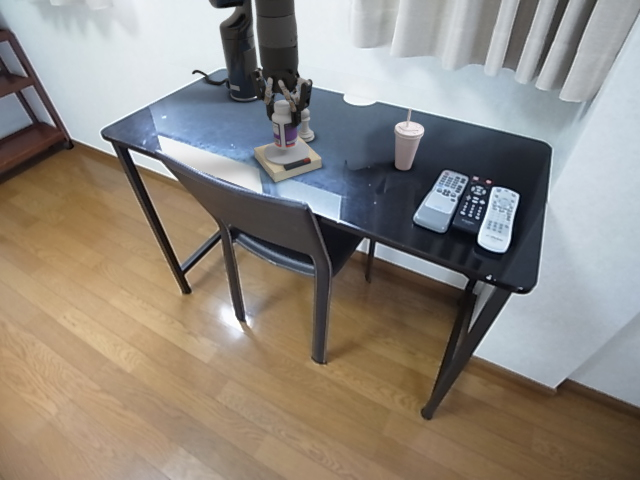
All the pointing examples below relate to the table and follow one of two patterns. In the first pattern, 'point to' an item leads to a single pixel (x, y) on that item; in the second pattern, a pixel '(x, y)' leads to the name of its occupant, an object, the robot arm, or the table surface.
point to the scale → (287, 160)
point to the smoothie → (407, 142)
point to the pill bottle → (283, 126)
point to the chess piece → (305, 127)
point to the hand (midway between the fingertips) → (284, 122)
